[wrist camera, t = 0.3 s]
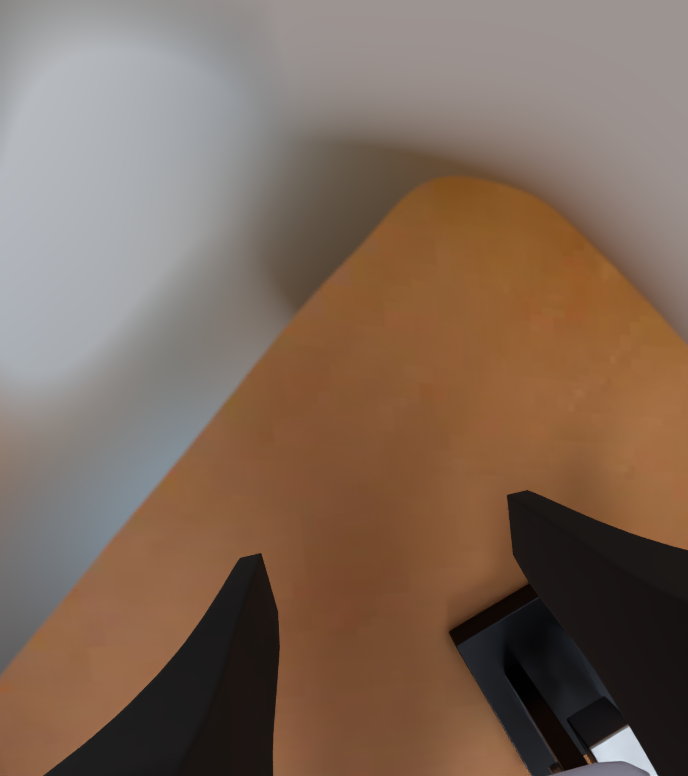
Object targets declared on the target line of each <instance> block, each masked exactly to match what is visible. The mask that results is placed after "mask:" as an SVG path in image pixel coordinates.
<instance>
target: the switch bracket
mask: <svg viewBox="0 0 688 776" xmlns="http://www.w3.org/2000/svg"><path fill="white" fill-rule="evenodd" d="M449 634H450V636H451V638H452V640H453V642H454V644H455V646H456V647H457V649H458V651H459V653H460V654H461V656H462V658H463V659H464V661H465V663H466V665H467V666H468V668H469V670H470V671H471V673H472V675H473V677H474V678H475V680H476V682H477V683H478V685H479V687H480V689H481V690H482V692H483V694H484V695H485V697H486V699H487V700H488V702H489V704H490V706H491V707H492V709H493V711H494V712H495V714H496V716H497V718H498V719H499V721H500V723H501V724H502V726H503V728H504V730H505V731H506V733H507V735H508V736H509V738H510V740H511V742H512V743H513V745H514V747H515V748H516V750H517V752H518V754H519V755H520V757H521V759H522V760H523V762H524V764H525V766H526V767H527V769H528V771H529V772H530V774H531V776H549V775H553V774H556V773H560V772H563V771H567V770H571V769H574V768H578V767H582V766H585V765H589V764H588V763H587V761H586V760H585V758H584V757H583V756H584V755H586V752H585V751H584V749H583V747H582V746H581V744H580V742H579V740H578V739H577V737H576V735H575V734H574V732H573V730H572V729H571V727H570V725H569V724H568V722H567V718H569V717H570V716H572V715H573V714H575V713H577V712H578V711H580V710H582V709H583V708H585V707H587V706H588V705H590V704H592V703H593V702H595V701H596V700H598V699H600V698H601V697H603V696H605V697H606V698H607V699H608V700H609V701H610V702H611V703H612V704H613V705H614V706H615V707H616V708H617V709H618V707H617V705H616V704H615V702H614V701H613V699H612V697H611V696H610V694H609V693H608V691H607V689H606V688H605V686H604V685H603V683H602V681H601V680H600V678H599V677H598V675H597V674H596V672H595V670H594V669H593V667H592V666H591V665H590V663H589V662H588V660H587V659H586V657H585V656H584V655H583V653H582V652H581V651H580V649H579V648H578V647H577V645H576V644H575V643H574V641H573V640H572V639H571V638H570V636H569V635H568V634H567V632H566V631H565V630H564V628H563V627H562V626H561V625H560V623H559V622H558V621H557V619H556V618H555V617H554V615H553V614H552V613H551V612H550V610H549V609H548V608H547V606H546V605H545V604H544V602H543V601H542V600H541V598H540V597H539V596H538V594H537V593H536V592H535V590H534V589H533V588H532V586H531V585H530V584H528V585H527V586H525V587H523V588H522V589H520V590H518V591H517V592H515V593H513V594H512V595H510V596H508V597H507V598H505V599H503V600H502V601H500V602H498V603H497V604H495V605H493V606H492V607H490V608H488V609H487V610H485V611H483V612H482V613H480V614H478V615H477V616H475V617H473V618H472V619H470V620H468V621H467V622H465V623H463V624H462V625H460V626H458V627H457V628H455V629H453V630H452V631H450V632H449ZM618 710H619V709H618ZM619 711H620V710H619Z"/></svg>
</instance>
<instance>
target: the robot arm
mask: <svg viewBox="0 0 688 776" xmlns="http://www.w3.org/2000/svg"><path fill="white" fill-rule="evenodd" d="M507 500H508V510H509V520H510V530H511V540H512V550H513V556H514V557H515V559H516V561H517V563H518V564H519V566H520V568H521V570H522V572H523V573H524V575H525V577H526V578H527V580H528V582H529V583H530V585H531V586H532V588H533V589H534V590H535V592H536V593H537V594H538V596H539V597H540V598H541V600H542V601H543V602H544V604H545V605H546V606H547V608H548V609H549V610H550V612H551V613H552V614H553V615H554V617H555V618H556V619H557V621H558V622H559V623H560V625H561V626H562V627H563V628H564V630H565V631H566V632H567V634H568V635H569V636H570V638H571V639H572V640H573V641H574V643H575V644H576V645H577V647H578V648H579V649H580V651H581V652H582V653H583V655H584V656H585V657H586V659H587V660H588V662H589V663H590V665H591V666H592V667H593V669H594V670H595V672H596V674H597V675H598V677H599V678H600V680H601V681H602V683H603V685H604V686H605V688H606V689H607V691H608V693H609V694H610V696H611V697H612V699H613V701H614V702H615V704H616V705H617V707H618V709H619V710H620V712H621V714H622V715H623V717H624V719H625V720H626V722H627V724H628V725H629V727H630V729H631V730H632V732H633V734H634V735H635V737H636V739H637V740H638V742H639V744H640V745H641V747H642V749H643V751H644V752H645V754H646V756H647V758H648V759H649V761H650V763H651V765H652V766H653V768H654V770H655V772H656V773H657V775H658V776H688V550H685V549H681V548H677V547H673V546H670V545H666V544H663V543H660V542H656V541H653V540H650V539H646V538H643V537H640V536H637V535H634V534H631V533H629V532H626V531H623V530H621V529H618V528H615V527H613V526H610V525H607V524H605V523H602V522H600V521H597V520H595V519H593V518H590V517H588V516H586V515H583V514H581V513H579V512H576V511H574V510H572V509H570V508H567V507H565V506H563V505H561V504H558V503H556V502H554V501H552V500H550V499H547V498H545V497H543V496H540V495H538V494H536V493H533V492H531V491H528V490H526V491H522V492H517V493H513V494H509V495H507ZM279 650H280V644H279V621H278V610H277V606H276V603H275V599H274V596H273V592H272V589H271V585H270V582H269V578H268V575H267V571H266V568H265V564H264V561H263V557H262V554H261V553H259V554H255V555H251V556H246V557H242V558H240V559H239V560H238V562H237V563H236V565H235V566H234V568H233V570H232V571H231V573H230V575H229V576H228V578H227V580H226V581H225V583H224V585H223V586H222V588H221V590H220V591H219V593H218V595H217V596H216V598H215V599H214V601H213V602H212V604H211V606H210V607H209V609H208V610H207V612H206V613H205V615H204V616H203V618H202V619H201V621H200V622H199V623H198V625H197V626H196V628H195V629H194V630H193V632H192V633H191V635H190V636H189V637H188V639H187V640H186V642H185V643H184V644H183V645H182V647H181V648H180V649H179V650H178V652H177V653H176V654H175V655H174V656H173V658H172V659H171V660H170V661H169V662H168V663H167V665H166V666H165V667H164V668H163V669H162V670H161V671H160V673H159V674H158V675H157V676H156V677H155V678H154V679H153V680H152V681H151V682H150V683H149V684H148V685H147V686H146V687H145V688H144V689H143V690H142V691H141V692H140V693H139V694H138V695H137V696H136V697H135V698H134V699H133V700H132V701H131V703H130V704H128V705H127V706H126V707H125V708H124V709H123V710H122V711H121V712H120V713H119V714H118V715H117V716H116V717H115V718H113V719H112V720H111V721H110V722H109V723H108V724H107V725H106V726H104V727H103V728H102V729H101V730H100V731H99V732H98V733H96V734H95V735H94V736H93V737H92V738H91V739H89V740H88V741H87V742H86V743H85V744H83V745H82V746H81V747H80V748H78V749H77V750H76V751H75V752H73V753H72V754H71V755H69V756H68V757H67V758H66V759H64V760H63V761H62V762H60V763H59V764H58V765H57V766H55V767H54V768H53V769H51V770H50V771H49V772H47V773H46V774H45V775H43V776H273V731H274V718H275V705H276V692H277V679H278V665H279ZM549 776H651V775H650V774H649V772H647V771H645V770H643V769H640V768H638V767H636V766H634V765H632V764H630V763H628V762H624V761H612V762H598V763H593V764H589V765H585V766H582V767H578V768H574V769H571V770H567V771H563V772H560V773H556V774H553V775H549Z"/></svg>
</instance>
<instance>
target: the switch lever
mask: <svg viewBox="0 0 688 776" xmlns="http://www.w3.org/2000/svg"><path fill="white" fill-rule="evenodd" d="M567 722H568V724H569V725H570V727H571V729H572V730H573V732H574V734H575V735H576V737H577V739H578V740H579V742H580V744H581V746H582V747H583V749H584V751H585V752H586V754H587V756H588V757H589V759H590V761H591V762H592V764H593V763H598V762H612V761H624V762H628V763H630V764H632V765H634V766H636V767H638V768H640V769H643V770H645V771H647V772H649V774H650V775H651V776H658V775H657V773H656V772H655V770H654V768H653V766H652V765H651V763H650V761H649V759H648V758H647V756H646V754H645V752H644V751H643V749H642V747H641V745H640V744H639V742H638V740H637V739H636V737H635V735H634V734H633V732H632V730H631V729H630V727H629V725H628V724H627V722H626V720H625V719H624V717H623V715H622V714H621V712H620V711H619V710H618V709H617V708H616V707H615V706H614V705H613V704H612V703H611V702H610V701H609V700H608V699H607V698H606V697H605V696H603V697H601V698H600V699H598V700H596V701H595V702H593V703H592V704H590V705H588V706H587V707H585V708H583V709H582V710H580V711H578V712H577V713H575V714H573V715H572V716H570V717H569V718H567Z"/></svg>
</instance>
